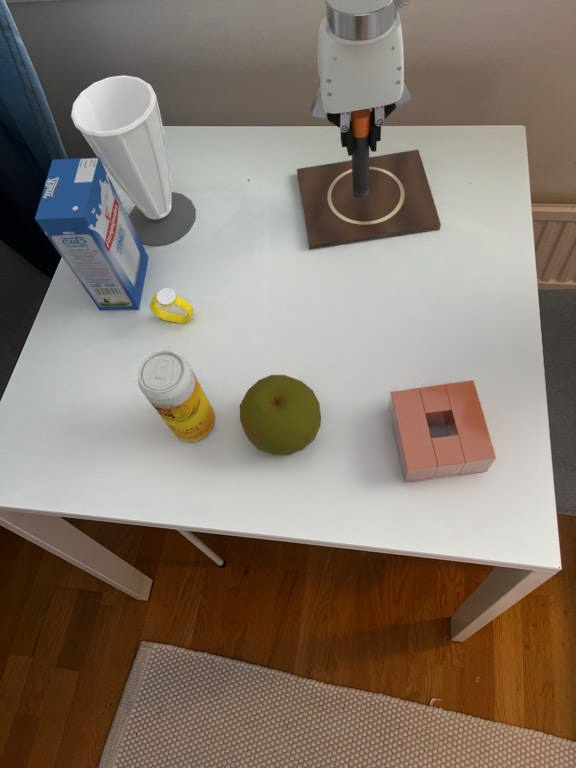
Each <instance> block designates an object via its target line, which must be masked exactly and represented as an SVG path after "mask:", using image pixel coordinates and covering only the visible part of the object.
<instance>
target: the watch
mask: <svg viewBox="0 0 576 768" xmlns="http://www.w3.org/2000/svg"><path fill="white" fill-rule="evenodd" d="M158 304H159V305H158ZM173 305H174V306H176V307H178V308H180V309H182V310H183V311H184V312H185V313H186V314H180V313H174V312H169V311H167V310H165V309H163V308H169V307H172V306H173ZM160 306H161V307H163V308H161V307H160ZM149 308H150V311H151V312H152V313H153V314H154V315H155V316H156V317H158V318H159V319H161V320H163V321H165V322H172V323H176V324H182V325H184V324H187V323H189V322H190V321H191V319H192V316H193V313H194V308H193V306H192V304H191V303H190V302H189V301H187V300H186V299H185V298H184V297H182V296H179V295H177V292H176V291H175V290H174V289H173V288H170V287H165V288H162V289H160V290H159V291H158V292H157V293H155V294H154V295H153V296H152V298H151V300H150V303H149Z"/></svg>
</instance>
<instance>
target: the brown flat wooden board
mask: <svg viewBox="0 0 576 768" xmlns="http://www.w3.org/2000/svg"><path fill="white" fill-rule="evenodd" d="M420 153H421V152H420V151H419V149H412V150H406V151H401V152H395V153H388V154H387V153H386V154H382V155H374V156H369V193H368V195H367V196H366V197H364V198H356V197H355V196H354V195H353V185H352V159H351V160H345V161H344V160H343V161H338V162H332V163H325V164H320V165H312V166H307V167H306V166H305V167H300V168H297V169H296V174H297V180H298V187H299V194H300V199H301V206H302V211H303V217H304V224H305V231H306V236H307V242H308V248H309V249H308V250H315V249H323V248H328V247H334V246H335V247H336V246H341V245H348V244H354V243H360V242H361V243H362V242H368V241H373V240H379V239H380V240H381V239H387V238H393V237H394V238H395V237H401V236H404V235H407V236H408V235H413V234H419V233H426V232H433V231H438V230H441V225H442V224H441V220H440V217H439V214H438V211H437V207H436V203H435V200H434V197H433V194H432V190H431V187H430V184H429V180H428V178H427V177H428V176H427V174H426V171H425V166H424V163H423V160H422V157H421V154H420Z"/></svg>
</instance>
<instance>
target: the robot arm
mask: <svg viewBox="0 0 576 768" xmlns="http://www.w3.org/2000/svg"><path fill="white" fill-rule="evenodd" d="M409 4H410V0H325V12H326V14H325V15H326V17H324V18H323V19H322V20H321V21H320V23H319V30H318V38H317V39H318V40H317V86H318V89H317V91H316V93H315V96H314V98H313V101H312V103H311V105H310V111H311V115H312V117H314V118H316V119H317V118H318V119H322V120H327V121H328V122H330V123H331V124H332V125H335V126H336V127H337V128H339V130H340V133H339V134H340V144H341V148H346V151H347V156H348V157H350V156H351V157H352V154H354V144H353V129H352V126H351V111H356V110H362V109H368V108H369V109H371V110H370V139H369V151H370V152H372V153H374V152H377V148H378V147H377V146H378V142H381V140H382V126H384V125H385V122H386V121H385V120H386V119H387V118H388V116H390V115H391V114H392V113H393V112H394V111H395V110H396V108H397V107H401V106H402V105H404V104H406V103H407V102H409V101H410V100H411V99H412V94H411V91H410V89H409V86H408V84H407V82H406V80H405V76H404V75H405V62H404V61H405V59H404V37H403V27H402V22H401V15H400V12H399V9H402V8H403V7H405V6H409Z"/></svg>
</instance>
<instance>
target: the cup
mask: <svg viewBox="0 0 576 768" xmlns="http://www.w3.org/2000/svg"><path fill="white" fill-rule="evenodd" d="M70 117H71V119H72V122H73V124H74V126H75V128H76V129H77V130H79V131H80V132H81V135H82V136H83V138H84V139H85V141H86V142H87V145H89V147H90V148H91V150H92V151H93V153H94V154H95V155H96V156H95V157H99V158H100V160H101V162H102V164H103V166H104V168H105V170H106V171H107V173H109V175H110V176H111V177H112V179H113V180H114V181H115V183H116V184H117V185H118V186H119V188H120V189H121V190H122V191H123V192H124V194H125V195H126V196H127V197H128V199H130V201H131V202H132V203H133V205H134V206H133V208H132V210H131V211H130V212H129V215H128V217H129V219H130V221H131V223H132V225H133V227H134V229H135V231H136V233H137V235H138V237H139V239H140V241H141V243H142V245H147V246H150V247H151V246H152V247H159V246H167V245H170V244H171V243H174V242H176V241H179V240H180V239H181V238H183V237H184V236H185V235H187V233H189V232H190V230H191V229H192V227H193V225H194V223H195V222H196V214H197V213H196V212H197V209H196V207H195V205H194V203H193V201H192V200H191V198H188V197H187V196H186V195H184V194H183V193H179V192H174V191H173V190H172V178H171V177H172V175H171V168H170V160H169V152H168V146H167V141H166V133H165V130H164V125H163V120H162V115H161V111H160V106H159V103H158V98H157V94H156V92H155V91H154V88H153V87H152V84H150V83H148V82H146V81H145V80H143V79H141V77H136V76H130V75H116V76H115V75H114V76H108V77H105V78H103V79H101V80H98V81H95V82H93V83H92V84H91V85H89V86H87V87H86V88H85V89H84V90H82V91H81V92H80V93H79V94H78V96H77V97H76V99H75V100H74V102H73V104H72V108H71V114H70Z"/></svg>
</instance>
